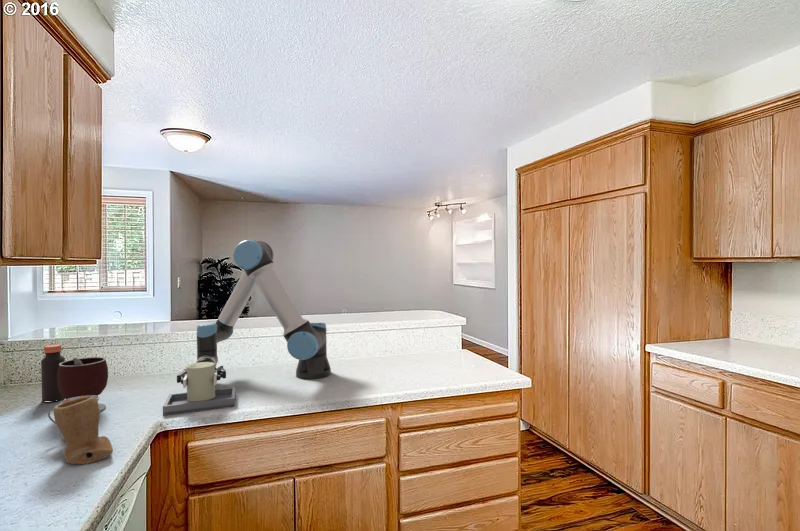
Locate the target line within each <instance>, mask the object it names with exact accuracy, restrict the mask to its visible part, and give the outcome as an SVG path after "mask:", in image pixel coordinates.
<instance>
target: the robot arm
mask: <svg viewBox="0 0 800 531" xmlns="http://www.w3.org/2000/svg"><path fill="white" fill-rule="evenodd" d="M232 256H233V262H234V263H235V265H236V266H237V267H238V268H240V269H241V270H243V272H242V273H241V276H240V277H239V279H238V281H237V283H236V285H235V286H234V288H233V290H232V293H231V294H230V296H229V298H228V300H227V301H226V303H225V305H224V306H223V308H222V310H221V312H220V314H219V315H218V318H217V319H216V322H203V323H199V324H197V326H196V334H195V335H196V350H197V351H196V362H195V363H199V362H213V363H215V374H214V385H215V386H217V384H218V383H217V382H218V381H221V379H226V378H227V370H226V369H225V368H224V365H220V366H218V367H217V365H218V360H219V359H218V358H219V357H218V343H221V342H223V341H227V339H229V338H230V337H232V335H233V333H234V327H235V325H236V323H237V321H238V319H239V318H240V316H241V314H242V313H243V311H244V309H245V307H246V306H247V303H248V301H249V300H250V298H251V296H252V294H253V293H254V290H255V289H256V286H257V287H258V289H259V290H260V292H261V293H262V295H263V297H264V299H265V300H266V302H267V303H268V305H269V307H270V309H271V310H272V312H273V314H274V315H275V316H276V319H277V321H278V322H279V324H280V325H281V326H282V328H283V334H282V335H283V338H284V340H285V341H286V347H287V348H286V349H287V351H288V352H287V353H288V354H289V355H290V356H291V357H292V358H294V359H295V360H298V363H297V365H296V369H295V376H296V377H297V378H299V379H304V380H313V379H314V380H315V379H322V378H325V377H328V376H330V375H331V374H332V368H331V365H330V362H329V359H328V357H327V356H328V354H327V324H326V323H325V322H310V320H308V319H305V318H303V316H302V315H301V313H300V311H299V309H298V308H297V306H296V305H295V303H294V301H293V299H292V298H291V296H290V295H289V293H288V291H287V289H286V288H285V286H284V285H283V283H282V281H281V280H280V278H279V276H278V275H277V273H276V271H275V269H274V267H275V262H274V261H273V260H274V250H273V248H272V246H271V245H270V244H269V243H267V242H265V241H262V240H254V239H246V240H242V241H241V242H239V243H238V244H237V245H236V246H235V247H234V250H233V254H232ZM176 383H177V384H179V383H180V384H181V385H182V388H183V389H187V368H184V369H183V370H182V371H181V372H179V374H177V375H176Z"/></svg>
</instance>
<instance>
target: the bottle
mask: <svg viewBox="0 0 800 531" xmlns="http://www.w3.org/2000/svg"><path fill="white" fill-rule="evenodd" d="M43 350H44V351H43V352H44V355H45V356H44V357H43V358H42V359H41V361H40V366H41V367H40V369H41V370H40V373H41V401H42V402H43V401H55V402H57V401H56V400H59V401H62V400H65V398H64V397H63V396H62V395H61V394H60V392H59V389H58V384H57V374H58V368H59V364H60V363H62V362H64V361H66V358H65V357H64V356H63V355H61V352H62V344H50V345H45V346H43ZM61 399H62V400H61Z"/></svg>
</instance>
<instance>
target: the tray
mask: <svg viewBox="0 0 800 531" xmlns="http://www.w3.org/2000/svg"><path fill="white" fill-rule="evenodd" d="M235 405H236V386H235V387H234V386H233V387H225V388H223V387H222V388H215V397H214V398H212V399H209V400H206V401H199V402H191V401H188V400H187V391H186V392H178V393H177V392H176V393H169V394H168V397H167V398H166V399H165V402H164V403H163V406H162V416H172V415H181V414H187V413H195V412H196V413H197V412H205V411H213V410H221V409H229V408H235Z"/></svg>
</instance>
